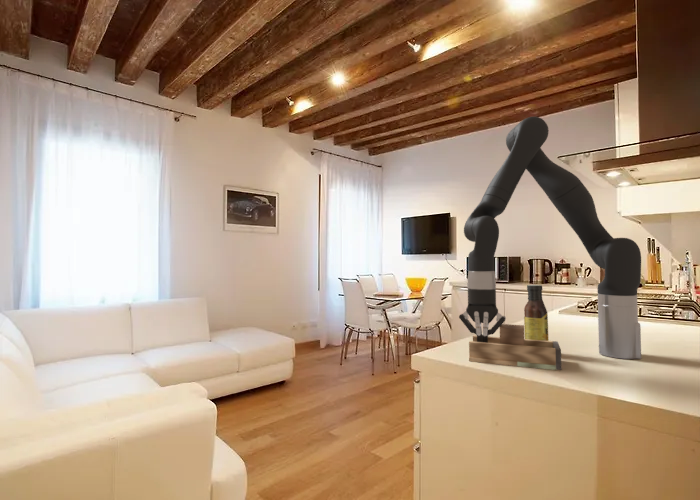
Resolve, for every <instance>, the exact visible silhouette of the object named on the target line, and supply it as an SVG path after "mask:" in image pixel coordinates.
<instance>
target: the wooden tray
mask: <svg viewBox="0 0 700 500" xmlns="http://www.w3.org/2000/svg"><path fill="white" fill-rule="evenodd" d="M468 349H469V350H468V353H469V357H468V361H469V362H473V363H484V364H492V365H501V366H502V365H503V366H504V365H505V366H512V367H522V368H523V367H525V368H533V369H534V368H535V369H541V370H542V369H544V370H553V371H557V370H560V371H562V348H561V347H560V344H559V342H558V340H555V341H554V340H549V341H543V340H530V339H525V338H524V345H511V344H500V336H490V335H488V343H486V342H477V335H476V334H475V335H472V340H469V342H468Z"/></svg>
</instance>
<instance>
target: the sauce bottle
mask: <svg viewBox="0 0 700 500" xmlns="http://www.w3.org/2000/svg"><path fill="white" fill-rule="evenodd" d="M526 289H527V300H528V301H527V302H526V304H525V306H524V308H523V310H524V317H523V322H524V324H523V325H524V339H530V340H543V341H550V340H549V318H548V317H549V316H548V315H549V314H548V310H547V307H546V306H545V303H544V301H543V285H542V284H528V285H527V286H526Z"/></svg>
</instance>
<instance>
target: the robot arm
mask: <svg viewBox="0 0 700 500" xmlns="http://www.w3.org/2000/svg"><path fill="white" fill-rule="evenodd" d="M548 136H549V126H548V124H547V122H546V121H545V120H544V119H543V118H542V117H539V116H529V117H526V118H524V119H522V120H521V121H520V122H518V123H517V124H516V125H515V126H514V127H513V128H512V129H511V130H510V131H509V132H508V134H507V135H506V138H505V144H506V148H507V149H508V151H509V153H508V155H507V157H506V158H505V161H504V162H503V163H502V164H501V166H500V168H499V169H498V171H497V172H496V173H495V175H494V176H493V178H492V179H491V180H490V182H489V185H488V186H487V188H486V190H485V192H484V194H483V196H482V198H481V200H480V202H479V203H478V204H477V206H476V207H474V209H473V211H472V212H471V213H470V214H469V216H468V218H467V219H466V221H465V223H464V226H463V235H464V237H465V238H466V239H467V240H468V241H469V242H473V243H474V247H473V250H471V251H470V252H469V254H468V257H467V258H468V259H467V261H468V262H467V264H468V265H467V266H468V267H467V269H468V275H467V283H466V285H467V307H466V309H465V310H466V311H464V312H462V313H461V314H459V316H458V318H459V319H460V321H461V322H462V324H463V325H464V326H465V327H466V329H467V330H468V331H469V332H470V333H471V334H475V336H477V342H486V343H488V336H490V335H493V334H495V333H496V332H497V331H498V330H499V329H500V326H501V325H502V324H504V323H505V322H506V319H507V318H506V316H505V315H502V314H501V313H500V312H499V309H498V307H497V289H496V288H497V283H496V282H497V279H496V273H495V271H496V270H495V256H496V255H495V254H496V251H497V246H498V241H499V239H500V238H499V237H500V227H499V224H498V221H497V220H496V218H497V217H498V216H499V215H501V214H503V213H504V212H505V210H506V208H507V206H508V204H509V202H510V200H511V198H512V196H513V194H514V192H515V190H516V188H517V186H518V184H519V182H520V181H521V179H522V177H523V175H524V173H525V171H527V172H528V173H529V174H530V175H531V176H532V177H533V179H534V181H535V182H536V183H537V184H538V186H539V187H540V188H541V190H543V193H545V195H546V196H547V198H548V199H549V200H550V202H551V203H552V204H553V205H554V207H555V208H556V209H557V211H558V212H559V213H560V215H561V216H562V217H563V218H564V220H565V221H566V222H567V224H568V225H569V226H570V228H571V229H572V230H573V231H574V232H575V234H576V235H577V236H578V239H579V240H580V241H581V243H582V245H583V246H584V248H585V250H586V252H587V253H588V254H589V257H590V258H591V260H592V261H593V262H594V264H595V265H596V266H598V267H599V268H601V269H603V270H604V277H603V280H602V281H601V282H599V283H598V284H597V309H598V310H597V322H598V324H597V325H598V352H599V354H600V355H602V356H605V357H611V358H616V359H625V360H633V359H634V360H635V359H640V360H641V359H642V341H641V340H642V334H641V332H642V331H641V328H642V327H641V323H640V322H639V315H638V314H639V312H638V311H639V310H638V289H639V287H640V284H641V281H642V280H641V279H642V278H641V277H642V275H641V274H642V255H641V249H640V246H639V245H638V244H637V242H635V241H634V240H632V239H631V238H628V237H613V236H612V235H611V234H610V233H609V232H608V230H607V229H606V228H605V227H604V225H602V223H601V221H600V220H599V219H600V218H599V217H598V213H597V209H596V205H595V201H594V199H593V197H592V195H591V193H590V192H589V190H588V188H587V187H586V186H585V184H584V183H583V182H582V181H581V179H580V178H579V177H578V176H577V175H575V174H574V173H573V172H571V171H570V170H568V169H566V168H564V167H562V166H560V165H558V164H557V163H555V162H553V161H552V160H551V159H550V158H549V157H548V156H547V155H546V154H545V152H544V150H542V146H543V145H544V144H545V142H546V141H547V139H548ZM469 317H470V319H471V320H472V321H473V322H474V323H475V325H473V324H472V322H470V320H469ZM494 319H495V320H496V323H495V324H494V325H493V326H492V327H491V328H490V329H489V327H490V325H489V324H490V323H491V322H492V321H493V320H494ZM482 324H483V325H482Z"/></svg>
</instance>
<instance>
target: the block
mask: <svg viewBox="0 0 700 500" xmlns="http://www.w3.org/2000/svg"><path fill="white" fill-rule="evenodd" d="M499 337H500V344H511V345H524V339H525V327H524V324H523V325H522V324H509V323H508V324H506V323H503V324H502V325H501V326H500V327H499Z"/></svg>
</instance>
